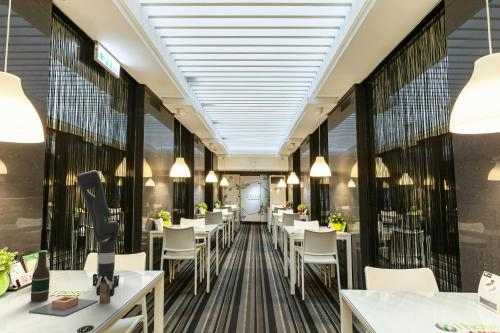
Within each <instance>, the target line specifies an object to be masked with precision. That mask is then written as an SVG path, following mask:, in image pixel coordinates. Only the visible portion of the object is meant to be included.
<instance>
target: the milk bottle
mask: <svg viewBox="0 0 500 333" xmlns="http://www.w3.org/2000/svg"><path fill="white" fill-rule="evenodd" d="M42 251H46V252H47V254H46V267H47V269H48V270H49V271H50V268H51V267H50V265H51V264H50V261H49V258H48V252H49V251H48V250H46V249H45V250H39V251H38V253H39V252H42ZM38 258H39V256H38ZM38 258H37V260H36V262H35V264H34V270H33V272H34V271H35V270H36V268H37V265H38Z"/></svg>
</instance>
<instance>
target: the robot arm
mask: <svg viewBox="0 0 500 333" xmlns="http://www.w3.org/2000/svg"><path fill="white" fill-rule="evenodd" d="M76 180H77V184H78V187H79V189H80V191H81V194H82V197H83V199H84V203H85V206H86V209H87V212H88V216H89V218H90V221H91V224H92V229H93V234H94V239H95V240H96V242H97V243H99V249H98V250H97V256H96V257H97V259H96V260H97V261H96V273H94V274H92V286H93V287H95V288H96V289H95V290H96V291H95V293H96V296H98V297H100V282H107V284H108V285H109V287H110V295H109V296H110V298H113V296H114V295H115V290H116V289H115V288H118V287H119V284H120V274H115V266H116V265H115V264H116V253H115V252H116V247H115V246H116V243H117V239H118V236H119V232H120V224H119V222H118V221H116V220H109V221H107V220H108V219H110V218H111V215H112V214H111V211H110V208H109V206H108V203H107V200H106V195H105V194H106V193H105V191H104V186H103V182H102V179H101V176H100V173H99V172H98V170H96V169H93V170H89V171H86V172H85V171H84V172H82V173H79V174H78V175H76ZM93 188H96V193H95V195H94V194H93V193H92V192H90V191H89V190H90V189H93ZM110 281H111V282H110Z"/></svg>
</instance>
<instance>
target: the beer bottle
mask: <svg viewBox="0 0 500 333" xmlns="http://www.w3.org/2000/svg"><path fill="white" fill-rule="evenodd" d="M41 251H42V252H39V251H38V254H37V255H38V257H39V258H37V260H38V265H37V268H36V270H35V271H34V270H33V272H32V275H31V276H32V277H31V286H30V287H31V289H30V301H31V303H41V302H45V301H47V300H49V294H50V281H51V274H50V270H48V269H47V267H46V254H47V255H48V253H47V252H46V251H43V250H41Z"/></svg>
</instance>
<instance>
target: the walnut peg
mask: <svg viewBox="0 0 500 333" xmlns="http://www.w3.org/2000/svg"><path fill="white" fill-rule="evenodd" d="M110 282H111V281H110ZM109 295H110V287H109V285H108V284H107V282H100V295H99V298H98V299H99V300H98V303H99V304H100V305H101V304H103V305H107V304H108V303H110V302H111V297H110V296H109Z"/></svg>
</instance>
